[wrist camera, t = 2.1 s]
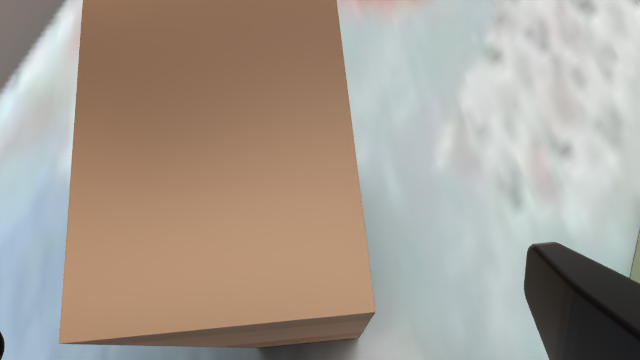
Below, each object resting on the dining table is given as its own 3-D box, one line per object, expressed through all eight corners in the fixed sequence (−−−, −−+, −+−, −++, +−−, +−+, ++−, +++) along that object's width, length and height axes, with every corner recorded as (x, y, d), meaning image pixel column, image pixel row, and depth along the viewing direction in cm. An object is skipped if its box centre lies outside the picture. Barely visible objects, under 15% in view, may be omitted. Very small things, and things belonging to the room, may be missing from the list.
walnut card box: (360, 337, 17) (378, 310, 5) (256, 347, 17) (56, 344, 6) (341, 173, 19) (324, -108, 7) (248, 183, 19) (86, -79, 8)
